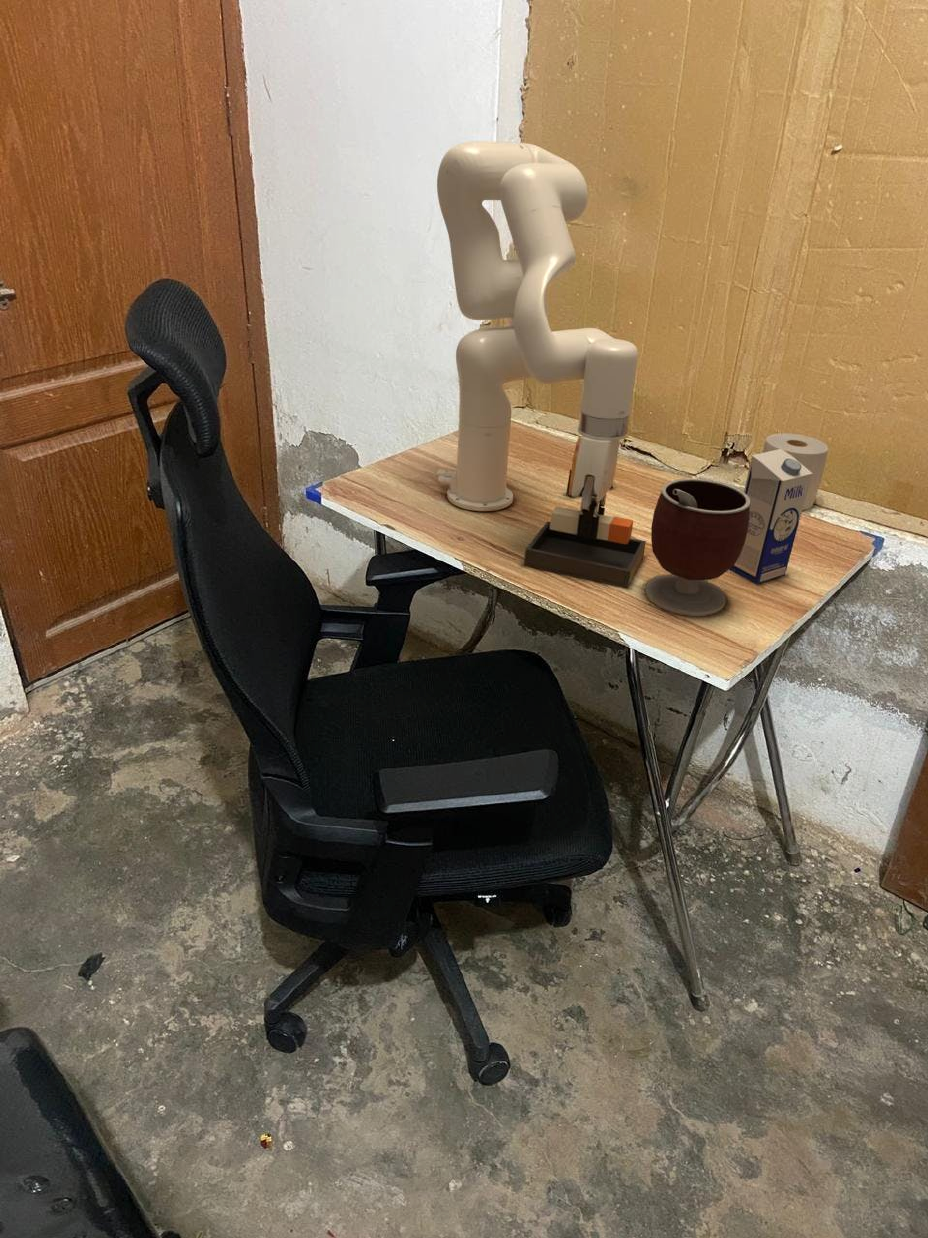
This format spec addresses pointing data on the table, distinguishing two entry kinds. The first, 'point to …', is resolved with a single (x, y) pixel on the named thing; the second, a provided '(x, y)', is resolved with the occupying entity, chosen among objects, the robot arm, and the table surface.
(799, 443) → the toilet paper roll
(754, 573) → the milk carton
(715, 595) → the mate gourd
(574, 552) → the tray
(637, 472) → the table surface
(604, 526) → the rectangular block
